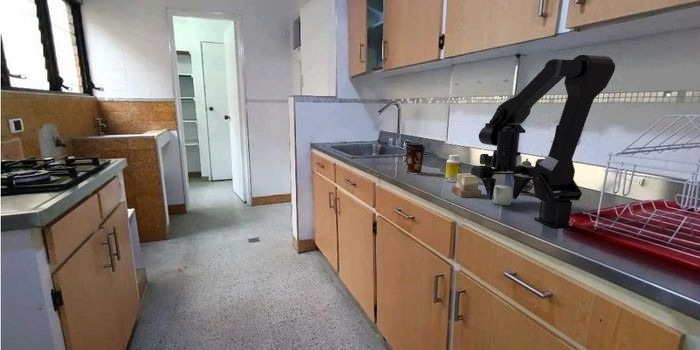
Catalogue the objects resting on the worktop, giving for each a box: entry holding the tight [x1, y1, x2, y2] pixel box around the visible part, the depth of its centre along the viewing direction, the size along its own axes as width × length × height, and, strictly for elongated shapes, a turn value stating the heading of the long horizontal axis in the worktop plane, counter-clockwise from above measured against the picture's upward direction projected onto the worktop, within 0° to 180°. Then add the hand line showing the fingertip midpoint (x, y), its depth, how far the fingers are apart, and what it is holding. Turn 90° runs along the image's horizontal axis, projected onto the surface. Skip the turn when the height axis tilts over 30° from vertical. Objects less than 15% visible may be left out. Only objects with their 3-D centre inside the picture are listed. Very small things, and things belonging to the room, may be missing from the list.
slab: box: [450, 185, 483, 198], centre depth 111 cm, size 7×7×2 cm
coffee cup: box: [405, 142, 426, 175], centre depth 147 cm, size 9×8×13 cm
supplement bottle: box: [445, 154, 462, 183], centre depth 131 cm, size 6×6×10 cm
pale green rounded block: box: [492, 184, 513, 206], centre depth 101 cm, size 5×5×5 cm
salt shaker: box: [519, 158, 534, 197], centre depth 112 cm, size 6×6×12 cm
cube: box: [455, 172, 480, 190], centre depth 111 cm, size 5×5×4 cm
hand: (502, 199), depth 101 cm, fingers open, 8 cm apart
